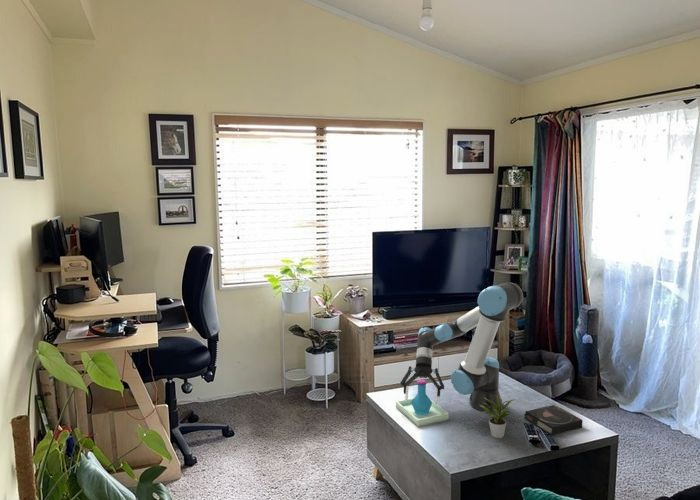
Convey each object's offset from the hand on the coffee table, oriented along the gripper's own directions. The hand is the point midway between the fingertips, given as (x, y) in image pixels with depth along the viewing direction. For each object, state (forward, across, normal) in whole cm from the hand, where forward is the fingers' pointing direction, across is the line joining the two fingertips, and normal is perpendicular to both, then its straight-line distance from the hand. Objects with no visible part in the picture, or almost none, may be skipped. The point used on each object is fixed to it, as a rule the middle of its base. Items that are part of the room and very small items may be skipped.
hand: (421, 401), depth 236 cm
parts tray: (+3, 0, -6) cm, 7 cm away
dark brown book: (+2, -57, -8) cm, 58 cm away
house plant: (+12, -34, +2) cm, 36 cm away
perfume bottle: (+3, 0, -6) cm, 7 cm away
